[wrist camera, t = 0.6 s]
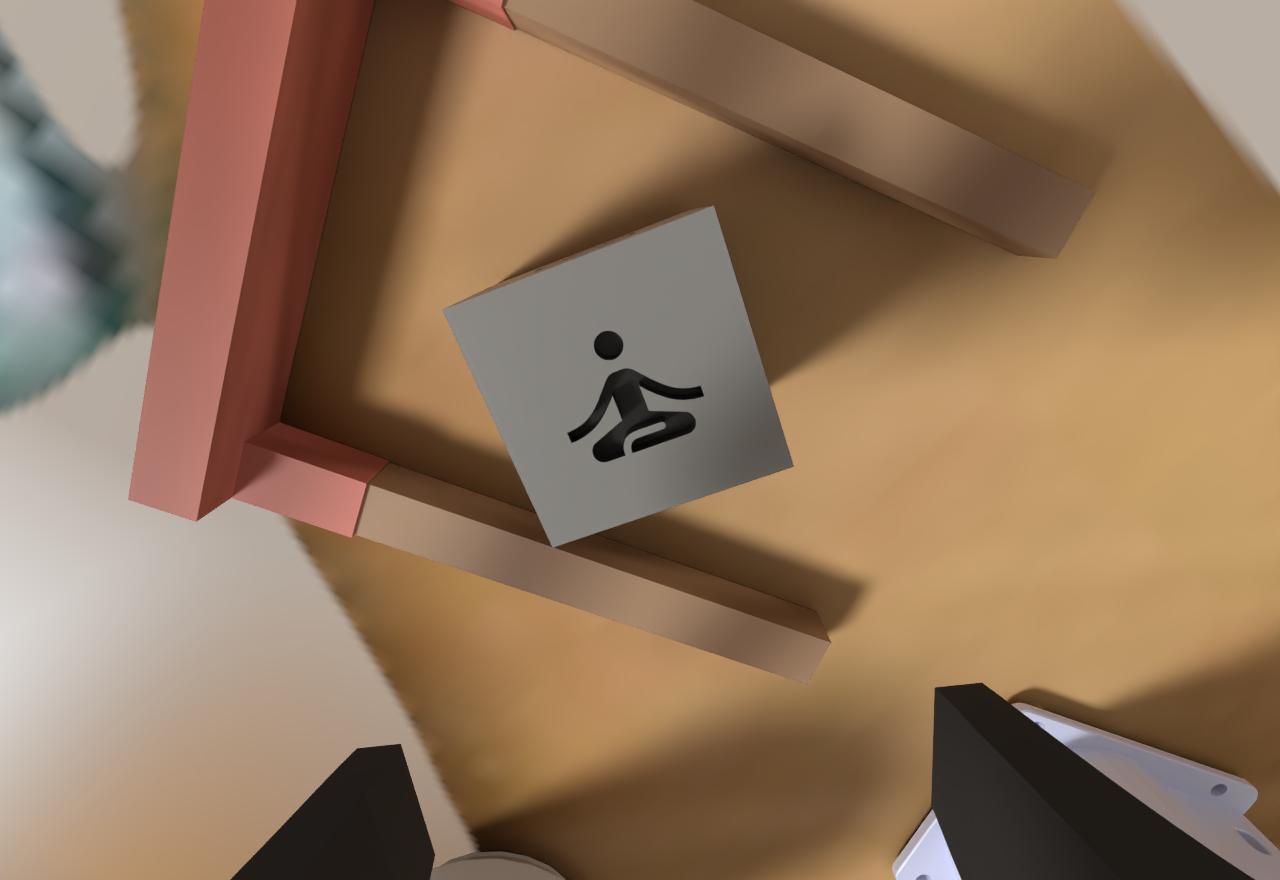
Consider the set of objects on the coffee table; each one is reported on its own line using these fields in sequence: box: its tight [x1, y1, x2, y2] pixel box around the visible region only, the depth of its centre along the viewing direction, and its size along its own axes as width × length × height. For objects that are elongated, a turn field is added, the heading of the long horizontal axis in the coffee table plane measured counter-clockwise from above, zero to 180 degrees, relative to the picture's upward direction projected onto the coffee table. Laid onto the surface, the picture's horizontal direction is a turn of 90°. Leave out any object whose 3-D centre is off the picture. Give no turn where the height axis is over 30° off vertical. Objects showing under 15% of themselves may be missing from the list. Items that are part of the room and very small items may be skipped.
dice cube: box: [443, 206, 794, 547], centre depth 14 cm, size 5×5×5 cm
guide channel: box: [128, 0, 1095, 684], centre depth 15 cm, size 18×14×3 cm
